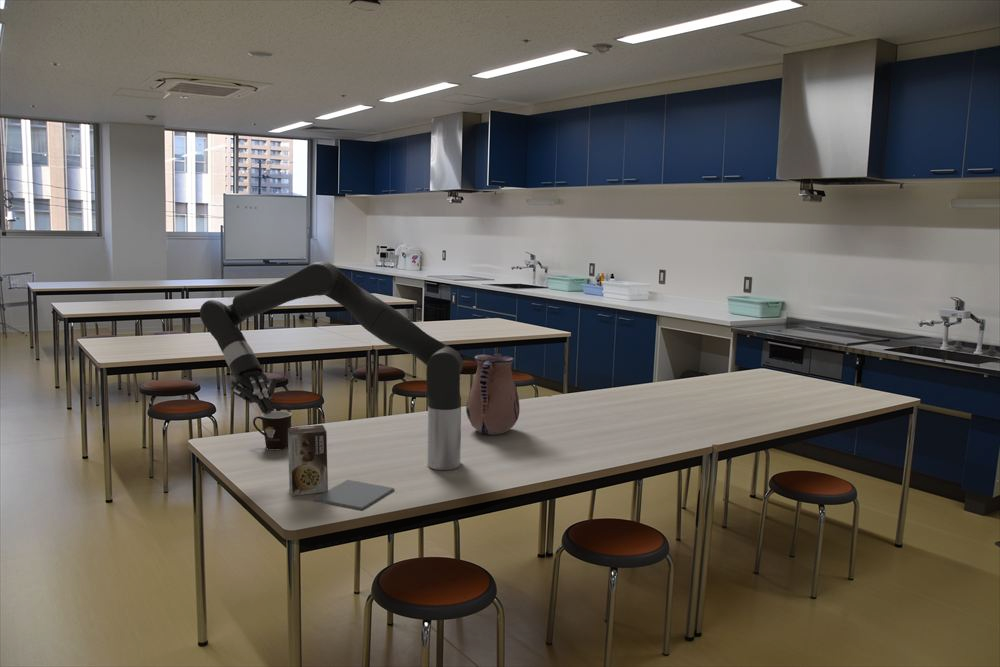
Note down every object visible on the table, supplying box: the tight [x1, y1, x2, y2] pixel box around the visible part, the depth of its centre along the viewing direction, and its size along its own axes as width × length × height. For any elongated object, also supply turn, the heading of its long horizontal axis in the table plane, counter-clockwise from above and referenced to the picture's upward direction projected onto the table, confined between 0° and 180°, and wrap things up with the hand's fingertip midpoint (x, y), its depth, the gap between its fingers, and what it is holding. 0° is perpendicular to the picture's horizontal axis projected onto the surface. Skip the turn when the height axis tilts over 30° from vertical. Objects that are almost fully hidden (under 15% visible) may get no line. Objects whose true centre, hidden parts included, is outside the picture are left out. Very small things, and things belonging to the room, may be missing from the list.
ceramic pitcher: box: [465, 353, 521, 436], centre depth 253 cm, size 18×21×25 cm
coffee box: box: [287, 424, 329, 497], centre depth 197 cm, size 9×6×16 cm
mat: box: [312, 479, 395, 510], centre depth 195 cm, size 15×14×1 cm
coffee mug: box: [252, 410, 292, 450], centre depth 234 cm, size 12×9×10 cm
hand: (269, 412), depth 207 cm, fingers closed
